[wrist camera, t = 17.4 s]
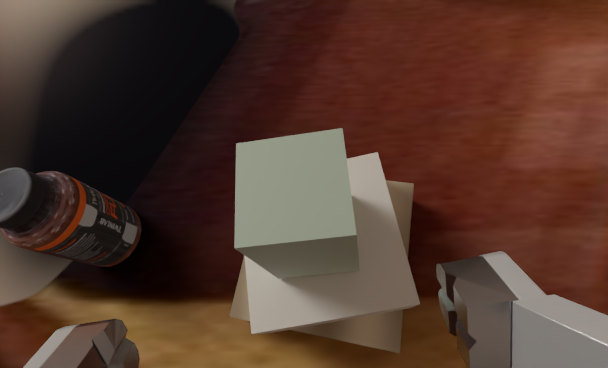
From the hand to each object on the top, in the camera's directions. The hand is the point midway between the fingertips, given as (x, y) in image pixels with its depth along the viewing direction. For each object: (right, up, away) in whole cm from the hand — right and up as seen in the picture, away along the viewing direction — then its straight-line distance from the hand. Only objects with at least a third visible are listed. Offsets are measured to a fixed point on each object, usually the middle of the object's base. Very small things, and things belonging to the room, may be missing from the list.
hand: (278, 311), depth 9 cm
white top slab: (+2, -2, +17) cm, 17 cm away
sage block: (+1, 0, +13) cm, 13 cm away
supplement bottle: (-17, -2, +24) cm, 30 cm away
